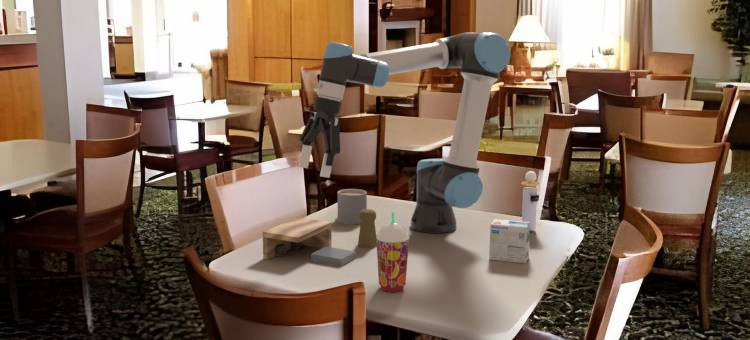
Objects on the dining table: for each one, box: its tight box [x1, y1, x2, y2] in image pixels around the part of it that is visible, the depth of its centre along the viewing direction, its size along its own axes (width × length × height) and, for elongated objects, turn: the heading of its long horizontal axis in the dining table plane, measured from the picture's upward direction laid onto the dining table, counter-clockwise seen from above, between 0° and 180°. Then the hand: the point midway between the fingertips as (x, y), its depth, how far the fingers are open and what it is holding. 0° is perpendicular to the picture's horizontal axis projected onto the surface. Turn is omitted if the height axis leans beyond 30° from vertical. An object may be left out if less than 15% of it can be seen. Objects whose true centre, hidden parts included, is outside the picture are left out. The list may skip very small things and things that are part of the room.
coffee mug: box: [337, 188, 368, 225], centre depth 249 cm, size 13×10×10 cm
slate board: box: [310, 246, 357, 267], centre depth 206 cm, size 10×8×2 cm
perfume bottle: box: [521, 170, 541, 232], centre depth 235 cm, size 6×6×20 cm
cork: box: [357, 208, 377, 249], centre depth 219 cm, size 6×6×11 cm
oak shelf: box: [262, 216, 333, 260], centre depth 211 cm, size 12×18×8 cm, turn 153°
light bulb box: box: [488, 218, 531, 264], centre depth 207 cm, size 11×7×11 cm, turn 71°
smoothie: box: [376, 211, 410, 293], centre depth 182 cm, size 8×8×20 cm
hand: (313, 172), depth 204 cm, fingers open, 13 cm apart
